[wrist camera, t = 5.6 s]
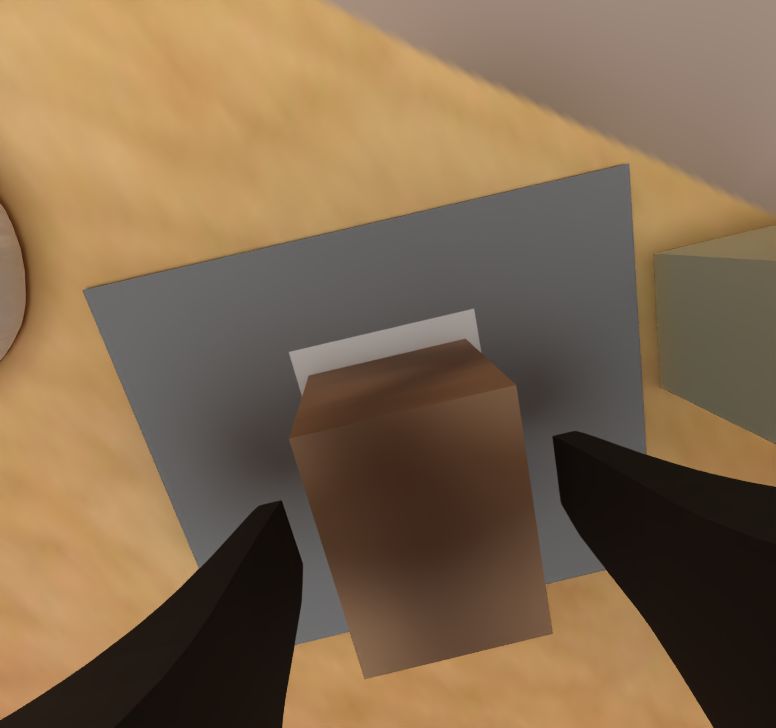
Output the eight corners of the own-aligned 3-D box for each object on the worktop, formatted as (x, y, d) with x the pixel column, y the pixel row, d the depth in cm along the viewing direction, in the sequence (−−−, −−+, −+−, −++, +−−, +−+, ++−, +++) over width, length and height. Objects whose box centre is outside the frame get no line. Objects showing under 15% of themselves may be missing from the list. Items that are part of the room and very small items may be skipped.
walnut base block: (465, 338, 14) (516, 384, 10) (498, 525, 16) (552, 633, 12) (308, 375, 14) (288, 438, 10) (361, 558, 16) (364, 679, 12)
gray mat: (624, 164, 13) (629, 163, 13) (649, 554, 17) (652, 558, 17) (86, 289, 13) (82, 290, 13) (238, 654, 17) (237, 658, 17)
